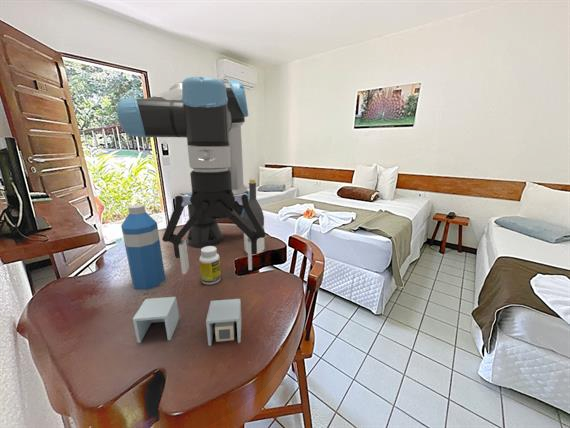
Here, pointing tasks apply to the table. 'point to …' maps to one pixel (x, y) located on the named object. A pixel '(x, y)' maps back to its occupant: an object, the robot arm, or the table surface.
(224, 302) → the cover far
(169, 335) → the cover near
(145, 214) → the water bottle
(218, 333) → the letter cube
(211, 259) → the pill bottle
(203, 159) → the robot arm
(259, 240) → the wine bottle
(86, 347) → the table surface
